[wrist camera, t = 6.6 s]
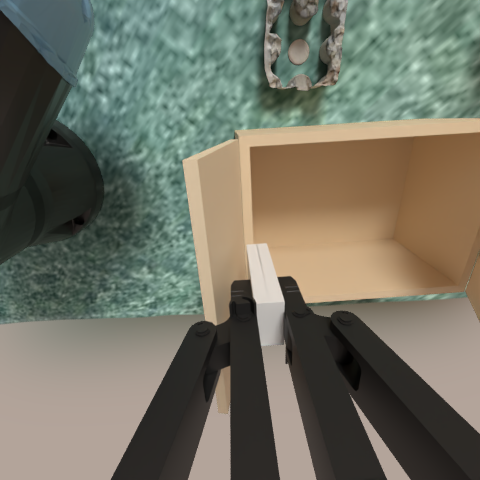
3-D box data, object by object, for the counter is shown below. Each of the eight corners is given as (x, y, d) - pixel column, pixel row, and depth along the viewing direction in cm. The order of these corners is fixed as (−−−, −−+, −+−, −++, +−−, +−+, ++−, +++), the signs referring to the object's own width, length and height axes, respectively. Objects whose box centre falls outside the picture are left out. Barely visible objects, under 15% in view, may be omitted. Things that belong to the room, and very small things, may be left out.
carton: (241, 252, 37) (247, 307, 26) (234, 130, 30) (238, 136, 19) (395, 241, 37) (463, 291, 26) (421, 118, 31) (528, 117, 20)
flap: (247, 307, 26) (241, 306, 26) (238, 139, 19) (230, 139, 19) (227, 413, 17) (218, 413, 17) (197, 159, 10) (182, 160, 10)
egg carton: (325, 93, 29) (338, 89, 26) (258, 90, 29) (263, 86, 25) (344, -35, 25) (364, -61, 21) (266, -40, 25) (272, -68, 21)
